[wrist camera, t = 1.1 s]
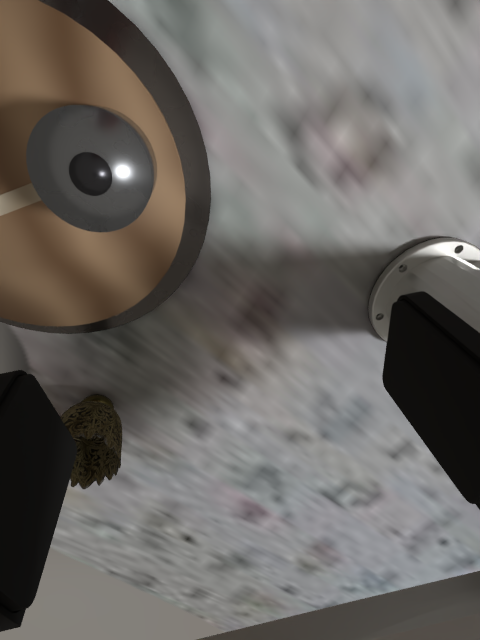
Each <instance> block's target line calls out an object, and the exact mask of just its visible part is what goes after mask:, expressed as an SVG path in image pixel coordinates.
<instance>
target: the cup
mask: <svg viewBox="0 0 480 640" xmlns="http://www.w3.org/2000/svg"><path fill="white" fill-rule="evenodd" d="M60 418H61V420H62V421H63V423H64V424H65V426H66V427H67V429H68V431H69V432H70V434H71V435H72V437H73V439H74V440H75V442H76V446H77V455H76V459H75V463H74V466H73V469H72V473H71V476H70V479H71V486H72V487H74V486H76V485H77V483H79V485H80V486H81V488H82V489H86V488H88V487H89V486H90V485H91V484H92V483H93V482H94V481H97V484H98V485H99V486H100V484H101V483H102V482H103V480H104V477H105V475H106V477H107V478H108V480H111V479H112V476H113V474H115V476H116V474H117V472H118V468H120V466H121V447H122V424H121V420H120V417H119V415H118V414H117V412H116V411H115V410H114V406H113V403H112V401H111V400H110V399H109V398H107V397H105V396H103V395H90V396H88V397H86V398H85V399H84V400H83V401H82V402H81V403H78V404H76V405H74V406H72V407H71V408H69V409H68V410H67V411H66V412H65V413H64V414H63V415H62V416H61V417H60Z"/></svg>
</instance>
